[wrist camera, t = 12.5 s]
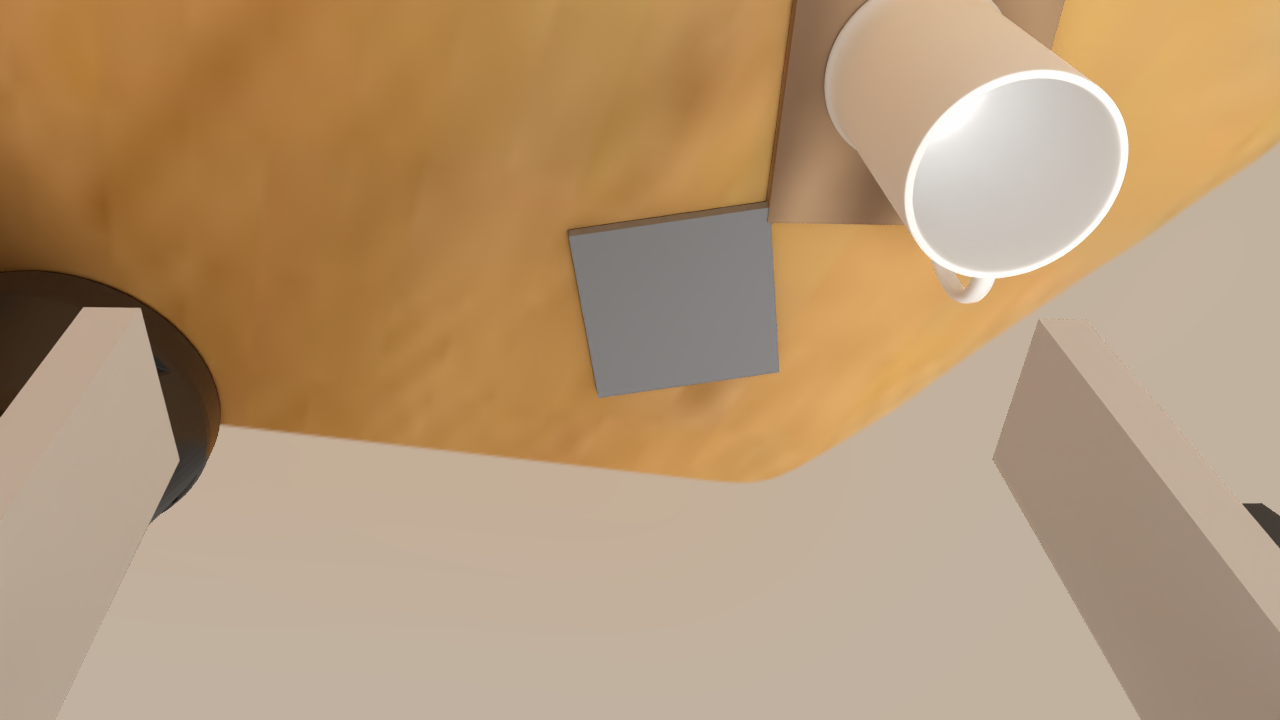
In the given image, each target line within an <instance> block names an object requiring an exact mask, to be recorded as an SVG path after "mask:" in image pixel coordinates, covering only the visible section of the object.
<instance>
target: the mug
mask: <svg viewBox="0 0 1280 720" xmlns="http://www.w3.org/2000/svg"><path fill="white" fill-rule="evenodd" d="M824 93H825V101H826V106H827V109H828V113H829V115H830V118H831V120H832V122H833V124H834V126H835V128H836V129H837V131H838V132H839V134H840V135H841V136H842V138H843V139H844V140H845V141H846V142H847V143H848V144H849V145H850V146H852V147H853V148H854V149H856V150H857V152H858V153H859V155H860V156H861V158H862V159H863V161H864V163H865V164H866V166H867V167H868V169H869V170H870V172H871V173H872V175H873V176H874V178H875V180H876V181H877V183H878V184H879V186H880V187H881V189H882V190H883V192H884V194H885V195H886V197H887V198H888V200H889V201H890V203H891V204H892V206H893V208H894V209H895V211H896V212H897V214H898V215H899V217H900V218H901V220H902V221H903V223H904V225H905V226H906V228H907V229H908V231H909V232H910V234H911V235H912V237H913V238H914V240H915V241H916V243H917V244H918V246H919V247H920V248H921V249H922V250H923V252H924V253H925V254H926V255H927V256H928V257H930V258H931V261H932V264H933V267H934V270H935V272H936V275H937V277H938V279H939V282H940V283H941V285H942V287H943V289H944V290H945V291H946V293H947V294H948V295H949V296H950V297H951V298H952V299H954V300H956V301H958V302H961V303H974V302H977V301H979V300H981V299H982V298H984V297H985V296H986V295H987V293H988V292H989V291H990V289H991V287H992V285H993V283H994V281H995V278H1003V277H1010V276H1015V275H1019V274H1023V273H1027V272H1030V271H1033V270H1035V269H1038V268H1040V267H1043V266H1045V265H1047V264H1049V263H1051V262H1053V261H1055V260H1056V259H1058V258H1060V257H1061V256H1063V255H1065V254H1066V253H1068V252H1069V251H1070V250H1072V249H1073V248H1074V247H1076V246H1077V245H1078V244H1079V243H1081V242H1082V241H1083V240H1084V239H1085V238H1086V237H1087V236H1088V235H1089V234H1090V233H1091V232H1092V231H1093V230H1094V229H1095V228H1096V227H1097V225H1098V224H1099V223H1100V222H1101V221H1102V219H1103V218H1104V217H1105V215H1106V214H1107V212H1108V211H1109V209H1110V208H1111V206H1112V204H1113V202H1114V201H1115V199H1116V197H1117V195H1118V192H1119V190H1120V188H1121V185H1122V182H1123V179H1124V176H1125V172H1126V167H1127V161H1128V137H1127V131H1126V127H1125V123H1124V120H1123V118H1122V115H1121V113H1120V111H1119V109H1118V108H1117V106H1116V105H1115V103H1114V102H1113V100H1112V99H1111V98H1110V97H1109V96H1108V94H1107V93H1106V92H1105V91H1103V90H1102V89H1101V88H1100V87H1099V86H1098V85H1096V84H1095V83H1094V82H1092V81H1091V80H1090V79H1088V78H1087V77H1086V76H1084V75H1083V74H1082V73H1080V72H1079V71H1078V70H1076V69H1075V68H1074V67H1072V66H1071V65H1070V64H1068V63H1067V62H1066V61H1064V60H1063V59H1062V58H1060V57H1059V56H1057V55H1056V54H1055V53H1053V52H1052V51H1051V50H1049V49H1048V48H1047V47H1045V46H1044V45H1043V44H1041V43H1040V42H1039V41H1037V40H1036V39H1035V38H1033V37H1032V36H1030V35H1029V34H1028V33H1026V32H1025V31H1024V30H1022V29H1021V28H1020V27H1018V26H1017V25H1016V24H1014V23H1013V22H1012V21H1010V20H1009V19H1008V18H1006V17H1005V16H1004V15H1002V13H1001V11H1000V10H999V8H998V7H997V6H996V4H995V3H994V2H993V1H992V0H868V1H867V2H866V3H865V4H863V5H862V6H861V7H860V8H859V9H858V10H857V11H856V12H855V13H854V14H853V15H852V16H851V18H850V19H849V20H848V21H847V23H846V24H845V25H844V27H843V28H842V30H841V31H840V33H839V35H838V37H837V38H836V40H835V42H834V45H833V47H832V49H831V52H830V55H829V58H828V62H827V66H826V71H825V79H824ZM955 273H958V274H961V275H965V276H970V277H972V279H971V281H970V283H969V285H968V287H967V288H964V287H963V285H962V284H961V283H960V281H959V280H958V278H957V276H956V274H955Z"/></svg>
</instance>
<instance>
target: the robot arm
mask: <svg viewBox="0 0 1280 720" xmlns="http://www.w3.org/2000/svg"><path fill="white" fill-rule="evenodd" d="M219 426H220V405H219V399H218V395H217V391H216V387H215V385H214V382H213V379H212V377H211V375H210V373H209V371H208V369H207V367H206V365H205V364H204V362H203V360H202V359H201V357H200V356H199V354H198V353H197V352H196V350H195V349H194V348H193V347H192V345H191V344H190V343H189V342H188V341H187V340H186V339H185V337H184V336H183V335H182V334H181V333H180V332H179V331H178V330H177V329H176V328H174V327H173V326H172V325H171V324H170V323H169V322H167V321H166V320H165V319H164V318H162V317H161V316H160V315H158V314H157V313H156V312H154V311H153V310H151V309H150V308H148V307H147V306H145V305H143V304H142V303H140V302H138V301H137V300H135V299H133V298H131V297H129V296H127V295H125V294H123V293H121V292H119V291H117V290H114V289H112V288H109V287H107V286H104V285H102V284H99V283H96V282H93V281H90V280H86V279H82V278H79V277H74V276H70V275H65V274H58V273H51V272H41V271H14V272H4V273H0V720H55V719H56V717H57V715H58V713H59V711H60V709H61V706H62V704H63V702H64V700H65V698H66V696H67V694H68V692H69V690H70V688H71V686H72V684H73V682H74V680H75V677H76V675H77V673H78V671H79V669H80V667H81V665H82V663H83V661H84V659H85V656H86V654H87V652H88V650H89V648H90V646H91V644H92V642H93V640H94V638H95V636H96V634H97V632H98V629H99V627H100V625H101V623H102V621H103V619H104V617H105V615H106V613H107V611H108V608H109V607H110V604H111V602H112V600H113V598H114V596H115V594H116V592H117V590H118V588H119V585H120V583H121V581H122V579H123V577H124V575H125V573H126V571H127V569H128V566H129V565H130V563H131V560H132V558H133V557H134V554H135V552H136V550H137V548H138V546H139V544H140V542H141V540H142V538H143V536H144V534H145V531H146V529H147V527H148V525H149V524H150V523H151V522H152V521H153V520H154V519H155V518H156V517H157V516H159V515H160V514H161V513H163V512H164V511H166V510H168V509H169V508H170V507H172V506H173V505H174V504H175V503H176V502H178V501H179V500H180V499H181V498H182V497H183V496H184V495H186V493H187V492H188V491H189V490H190V489H191V488H192V486H193V485H194V484H195V482H196V481H197V480H198V478H199V476H200V475H201V473H202V471H203V469H204V467H205V465H206V462H207V460H208V458H209V456H210V453H211V451H212V449H213V447H214V445H215V442H216V439H217V436H218V431H219ZM993 461H994V463H995V464H996V466H997V468H998V470H999V471H1000V473H1001V475H1002V477H1003V478H1004V480H1005V482H1006V484H1007V485H1008V487H1009V489H1010V491H1011V492H1012V494H1013V496H1014V498H1015V499H1016V501H1017V503H1018V505H1019V507H1020V508H1021V510H1022V512H1023V513H1024V515H1025V517H1026V519H1027V521H1028V522H1029V524H1030V526H1031V528H1032V529H1033V531H1034V533H1035V535H1036V536H1037V538H1038V540H1039V542H1040V543H1041V545H1042V547H1043V549H1044V550H1045V552H1046V554H1047V556H1048V557H1049V559H1050V561H1051V563H1052V564H1053V566H1054V568H1055V570H1056V571H1057V573H1058V575H1059V576H1060V578H1061V580H1062V582H1063V584H1064V586H1065V587H1066V589H1067V591H1068V593H1069V594H1070V596H1071V598H1072V600H1073V601H1074V603H1075V605H1076V606H1077V608H1078V610H1079V612H1080V613H1081V615H1082V617H1083V619H1084V621H1085V622H1086V624H1087V626H1088V628H1089V629H1090V631H1091V633H1092V635H1093V636H1094V638H1095V640H1096V641H1097V643H1098V645H1099V647H1100V649H1101V650H1102V652H1103V654H1104V656H1105V657H1106V659H1107V661H1108V663H1109V664H1110V666H1111V668H1112V670H1113V671H1114V673H1115V675H1116V677H1117V678H1118V680H1119V682H1120V684H1121V686H1122V687H1123V689H1124V691H1125V693H1126V694H1127V696H1128V698H1129V700H1130V701H1131V703H1132V705H1133V706H1134V708H1135V710H1136V712H1137V714H1138V715H1139V717H1140V719H1141V720H1280V516H1279V515H1278V514H1276V513H1275V512H1273V511H1272V510H1270V509H1269V508H1268V507H1266V506H1265V505H1263V504H1262V503H1260V504H1242V503H1241V502H1240V501H1239V500H1238V499H1237V497H1236V496H1235V495H1234V494H1233V493H1232V491H1231V490H1230V489H1229V488H1228V487H1227V486H1226V484H1225V483H1224V482H1223V481H1222V480H1221V478H1220V477H1219V476H1218V475H1217V474H1216V472H1215V471H1214V470H1213V469H1212V468H1211V467H1210V465H1209V464H1208V463H1207V462H1206V461H1205V459H1204V458H1203V457H1202V456H1201V455H1200V453H1199V452H1198V451H1197V450H1196V449H1195V448H1194V446H1193V445H1192V444H1191V443H1190V442H1189V440H1188V439H1187V438H1186V437H1185V436H1184V435H1183V433H1182V432H1181V431H1180V430H1179V429H1178V427H1177V426H1176V425H1175V424H1174V423H1173V421H1172V420H1171V419H1170V418H1169V417H1168V416H1167V414H1166V413H1165V412H1164V411H1163V410H1162V408H1161V407H1160V406H1159V405H1158V404H1157V403H1156V401H1155V400H1154V399H1153V398H1152V397H1151V396H1150V394H1149V393H1148V392H1147V391H1146V389H1145V388H1144V387H1143V386H1142V385H1141V384H1140V382H1139V381H1138V380H1137V379H1136V378H1135V377H1134V375H1133V374H1132V373H1131V372H1130V370H1129V369H1128V368H1127V367H1126V366H1125V365H1124V363H1123V362H1122V361H1121V360H1120V359H1119V357H1118V356H1117V355H1116V354H1115V353H1114V351H1113V350H1112V349H1111V348H1110V347H1109V346H1108V344H1107V343H1106V342H1105V341H1104V340H1103V338H1102V337H1101V336H1100V335H1099V334H1098V332H1097V331H1096V330H1095V329H1094V328H1093V327H1092V325H1091V324H1090V323H1089V322H1088V321H1087V320H1073V319H1072V320H1068V319H1066V320H1064V319H1063V320H1062V319H1039V320H1038V323H1037V326H1036V329H1035V332H1034V335H1033V338H1032V341H1031V345H1030V347H1029V350H1028V353H1027V356H1026V359H1025V362H1024V366H1023V368H1022V371H1021V374H1020V377H1019V380H1018V383H1017V386H1016V390H1015V392H1014V395H1013V398H1012V401H1011V404H1010V407H1009V410H1008V414H1007V416H1006V419H1005V422H1004V426H1003V429H1002V432H1001V435H1000V438H999V441H998V444H997V447H996V450H995V453H994V456H993Z"/></svg>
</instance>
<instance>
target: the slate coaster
mask: <svg viewBox="0 0 1280 720" xmlns="http://www.w3.org/2000/svg"><path fill="white" fill-rule="evenodd" d="M768 211H769V207H768V204H767V202H759V203H752V204H745V205H739V206H732V207H725V208H718V209H711V210H704V211H697V212H690V213H683V214H676V215H669V216H663V217H656V218H649V219H642V220H635V221H628V222H621V223H614V224H607V225H600V226H593V227H586V228H580V229H573V230H568V235H569V242H570V247H571V253H572V258H573V263H574V269H575V274H576V280H577V285H578V290H579V296H580V301H581V306H582V312H583V317H584V323H585V328H586V333H587V339H588V344H589V350H590V355H591V360H592V366H593V371H594V377H595V382H596V387H597V393H598V398H602V397H609V396H616V395H623V394H630V393H637V392H644V391H651V390H658V389H665V388H672V387H679V386H686V385H693V384H700V383H707V382H714V381H721V380H728V379H735V378H742V377H749V376H756V375H763V374H770V373H777V372H779V360H778V342H777V324H776V306H775V288H774V270H773V252H772V234H771V223H767V218H768Z"/></svg>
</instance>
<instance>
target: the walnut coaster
mask: <svg viewBox="0 0 1280 720" xmlns="http://www.w3.org/2000/svg"><path fill="white" fill-rule="evenodd" d="M867 1H868V0H793V4H792V11H791V19H790V27H789V34H788V42H787V49H786V57H785V65H784V72H783V80H782V87H781V95H780V102H779V110H778V118H777V125H776V133H775V140H774V148H773V155H772V163H771V171H770V178H769V186H768V193H767V201H766V202H767V204H768V207H769V211H768V218H767V223H807V224H877V225H904V223H903V221H902V220H901V218H900V217H899V215H898V214H897V212H896V211H895V209H894V208H893V206H892V204H891V203H890V201H889V200H888V198H887V197H886V195H885V194H884V192H883V190H882V189H881V187H880V186H879V184H878V183H877V181H876V180H875V178H874V176H873V175H872V173H871V172H870V170H869V169H868V167H867V166H866V164H865V163H864V161H863V159H862V158H861V156H860V155H859V153H858V152H857V150H856V149H854V148H853V147H852V146H850V145H849V144H848V143H847V142H846V141H845V140H844V139H843V138H842V136H841V135H840V134H839V132H838V131H837V129H836V128H835V126H834V124H833V122H832V120H831V118H830V115H829V113H828V109H827V106H826V101H825V93H824V79H825V71H826V66H827V62H828V58H829V55H830V52H831V49H832V47H833V45H834V42H835V40H836V38H837V37H838V35H839V33H840V31H841V30H842V28H843V27H844V25H845V24H846V23H847V21H848V20H849V19H850V18H851V16H852V15H853V14H854V13H855V12H856V11H857V10H858V9H859V8H860V7H861V6H862V5H863V4H865V3H866V2H867ZM992 1H993V2H994V3H995V4H996V6H997V7H998V8H999V10H1000V11H1001V13H1002V15H1004V16H1005V17H1006V18H1008V19H1009V20H1010V21H1012V22H1013V23H1014V24H1016V25H1017V26H1018V27H1020V28H1021V29H1022V30H1024V31H1025V32H1026V33H1028V34H1029V35H1030V36H1032V37H1033V38H1035V39H1036V40H1037V41H1039V42H1040V43H1041V44H1043V45H1044V46H1045V47H1047V48H1048V49H1049V50H1051V48H1052V45H1053V41H1054V37H1055V34H1056V30H1057V27H1058V23H1059V20H1060V16H1061V12H1062V9H1063V5H1064V2H1065V0H992Z"/></svg>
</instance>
